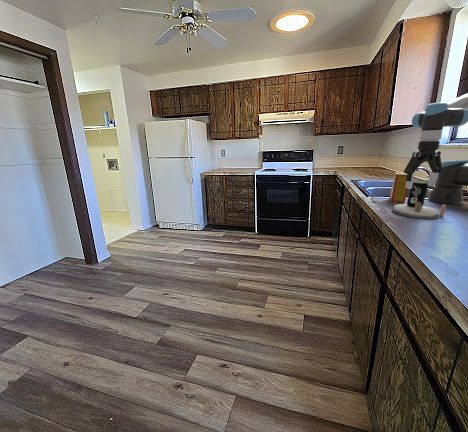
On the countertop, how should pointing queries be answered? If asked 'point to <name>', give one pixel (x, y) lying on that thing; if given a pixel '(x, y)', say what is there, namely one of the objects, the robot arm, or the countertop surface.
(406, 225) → the countertop surface
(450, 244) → the countertop surface
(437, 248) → the countertop surface
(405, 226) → the countertop surface
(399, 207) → the disc
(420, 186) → the beverage can
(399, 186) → the baking soda box
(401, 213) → the base
